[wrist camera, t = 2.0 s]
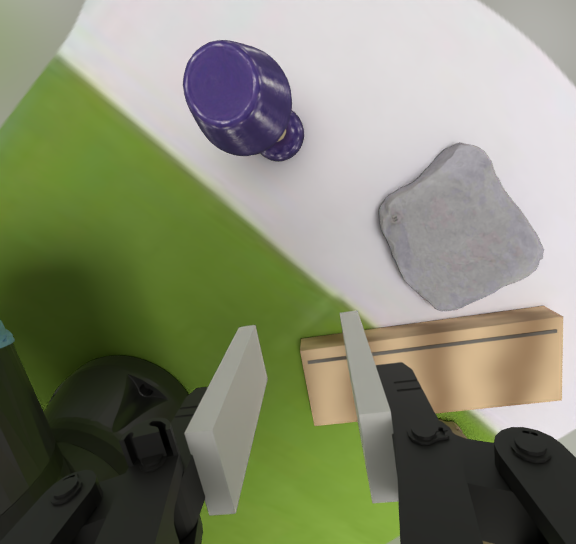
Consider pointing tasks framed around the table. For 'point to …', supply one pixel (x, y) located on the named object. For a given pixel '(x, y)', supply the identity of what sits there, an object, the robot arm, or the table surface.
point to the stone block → (458, 231)
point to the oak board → (448, 362)
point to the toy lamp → (242, 101)
